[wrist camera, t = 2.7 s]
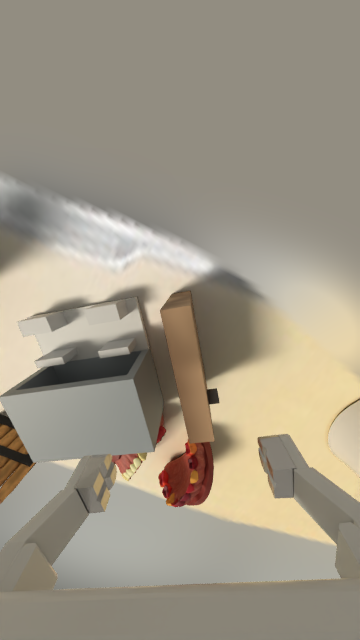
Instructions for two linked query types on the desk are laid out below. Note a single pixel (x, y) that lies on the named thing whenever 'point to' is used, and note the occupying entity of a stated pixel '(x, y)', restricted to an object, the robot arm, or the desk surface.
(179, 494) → the teeth
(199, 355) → the door
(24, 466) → the ammunition clip
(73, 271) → the desk surface
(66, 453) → the cabinet
